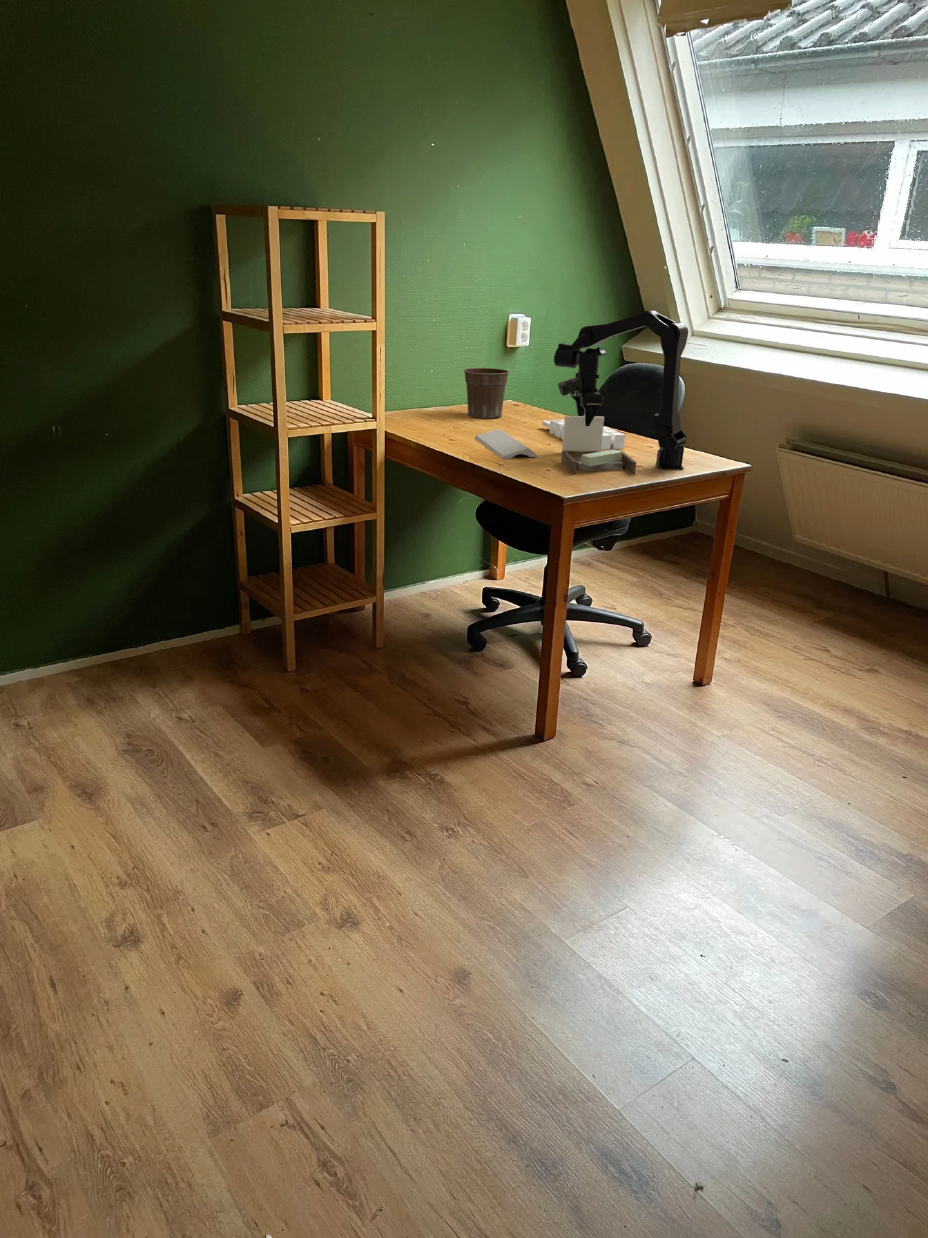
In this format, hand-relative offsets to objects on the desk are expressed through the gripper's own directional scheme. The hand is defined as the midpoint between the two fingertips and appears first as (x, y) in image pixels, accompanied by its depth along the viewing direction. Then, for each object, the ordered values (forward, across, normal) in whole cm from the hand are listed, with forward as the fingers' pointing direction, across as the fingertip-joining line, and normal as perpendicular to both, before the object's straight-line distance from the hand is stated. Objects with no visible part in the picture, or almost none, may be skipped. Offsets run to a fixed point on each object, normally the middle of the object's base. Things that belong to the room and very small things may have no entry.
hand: (583, 422), depth 273 cm
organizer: (+10, -21, +4) cm, 24 cm away
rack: (+9, +20, 0) cm, 22 cm away
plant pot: (+9, -58, -22) cm, 63 cm away
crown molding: (+10, -6, -22) cm, 25 cm away
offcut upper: (+7, +21, +1) cm, 22 cm away
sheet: (+9, 0, 0) cm, 9 cm away
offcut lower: (+10, +21, 0) cm, 23 cm away
